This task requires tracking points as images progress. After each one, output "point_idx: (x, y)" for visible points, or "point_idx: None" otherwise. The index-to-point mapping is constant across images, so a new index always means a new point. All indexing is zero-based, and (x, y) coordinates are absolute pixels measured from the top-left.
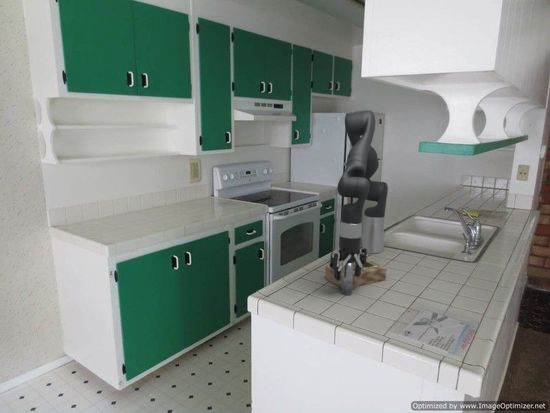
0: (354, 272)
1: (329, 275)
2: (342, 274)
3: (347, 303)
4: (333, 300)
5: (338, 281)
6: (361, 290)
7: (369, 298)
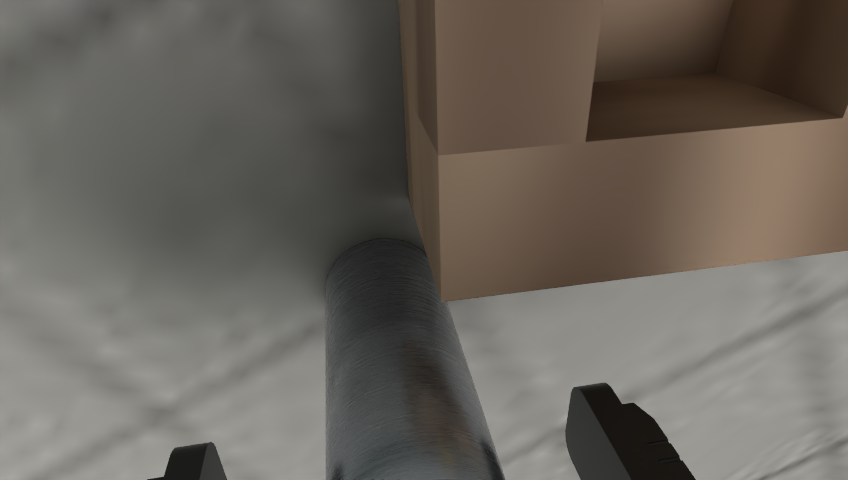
0: (715, 201)
1: None
2: (468, 213)
3: (271, 444)
4: (156, 380)
5: (411, 101)
6: None
7: (514, 410)
